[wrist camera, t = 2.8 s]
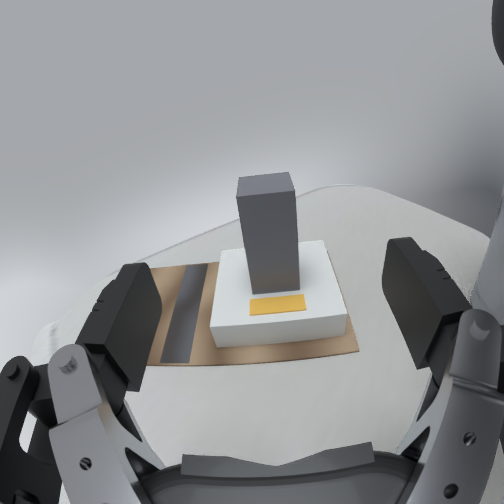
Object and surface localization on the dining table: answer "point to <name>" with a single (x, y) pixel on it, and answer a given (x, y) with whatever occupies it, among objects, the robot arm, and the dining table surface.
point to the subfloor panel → (199, 333)
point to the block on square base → (274, 274)
